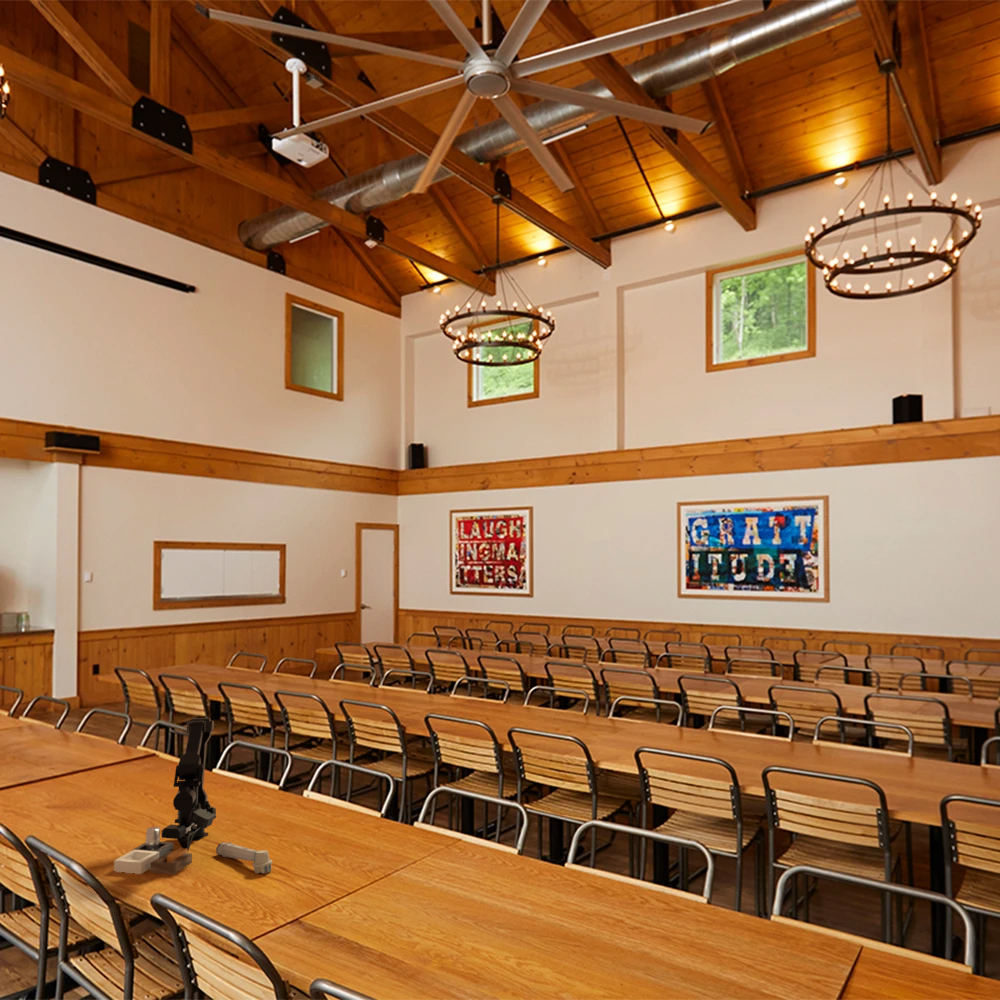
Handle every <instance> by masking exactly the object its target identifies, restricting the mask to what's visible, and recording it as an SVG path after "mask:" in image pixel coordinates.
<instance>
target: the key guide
mask: <svg viewBox="0 0 1000 1000" xmlns="http://www.w3.org/2000/svg"><path fill="white" fill-rule="evenodd" d="M173 852H174V851H171V852H167V853H166V854H164V855H163V856H161V857H159V858H158V859H156V860H154V861H153V862H151V866H150V869H149V870H150V871H149V872H151V873H153V874H162V875H163V874H165V875H172V874H173V876H174V875H176V874H177V873H179V872H180V871H182V870H184V869H185V868H186V867H188V866H189V865H191V864H192V861H193V853H191V852H189V853H188V852H187V853H184V854H183V855H181V856H180V857H178V858H176V859H175V860H173V861H172V862H170V863H167V856H168V855H170V854H171V853H173ZM190 863H191V864H190ZM187 865H188V866H187ZM184 867H185V868H184ZM178 871H179V872H178ZM151 873H150V874H151Z"/></svg>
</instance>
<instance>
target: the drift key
mask: <svg viewBox="0 0 1000 1000" xmlns="http://www.w3.org/2000/svg"><path fill="white" fill-rule="evenodd" d="M187 849H188V848H182V847H180V848H178V849H176V850H173V851H172V852H173V853H171V854H170V855H168V856H167V863H170V862H172V861H173V860H175V859H176V858H178V857H180V856H181V855H183V854H184V853H188V852H187Z"/></svg>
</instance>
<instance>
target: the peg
mask: <svg viewBox="0 0 1000 1000" xmlns="http://www.w3.org/2000/svg"><path fill="white" fill-rule="evenodd" d="M160 832H161V827H158V826H152V827H151V826H150V827H148V828H146V831H145V842H146V850H153V851H155V850H157V849H159V841H160V838H161V835H160V834H161V833H160ZM160 842H161V841H160Z"/></svg>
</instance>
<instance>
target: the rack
mask: <svg viewBox="0 0 1000 1000" xmlns="http://www.w3.org/2000/svg"><path fill="white" fill-rule="evenodd" d="M131 850H132V851H131ZM131 850H130V851H128V852H127V853H125V854H123V855H121V856H120V857H117V858H116V859H114V864H113V872H114V871H116V872H115V873H121V872H125V874H132V873H135V874H134V875H142V874H143V873H145V872H147V871H148V870H150V866H151V862H153V861H154V860H156V859H158V858H159V852H156V851H144V850H133V849H131Z"/></svg>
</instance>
